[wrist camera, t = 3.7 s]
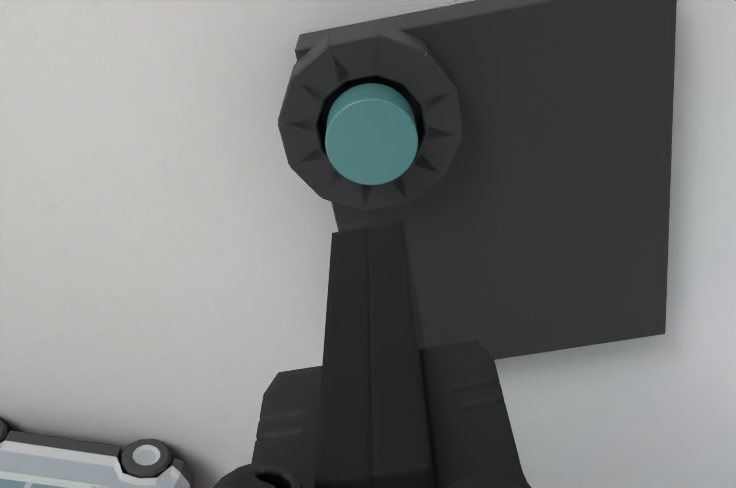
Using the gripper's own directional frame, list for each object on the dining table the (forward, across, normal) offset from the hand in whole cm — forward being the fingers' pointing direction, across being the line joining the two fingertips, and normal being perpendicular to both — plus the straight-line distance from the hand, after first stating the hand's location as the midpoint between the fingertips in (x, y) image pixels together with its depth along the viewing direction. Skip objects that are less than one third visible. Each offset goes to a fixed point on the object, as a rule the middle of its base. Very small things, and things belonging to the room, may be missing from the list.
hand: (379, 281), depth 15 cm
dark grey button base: (+12, +4, -4) cm, 13 cm away
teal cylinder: (+9, 0, 0) cm, 9 cm away
